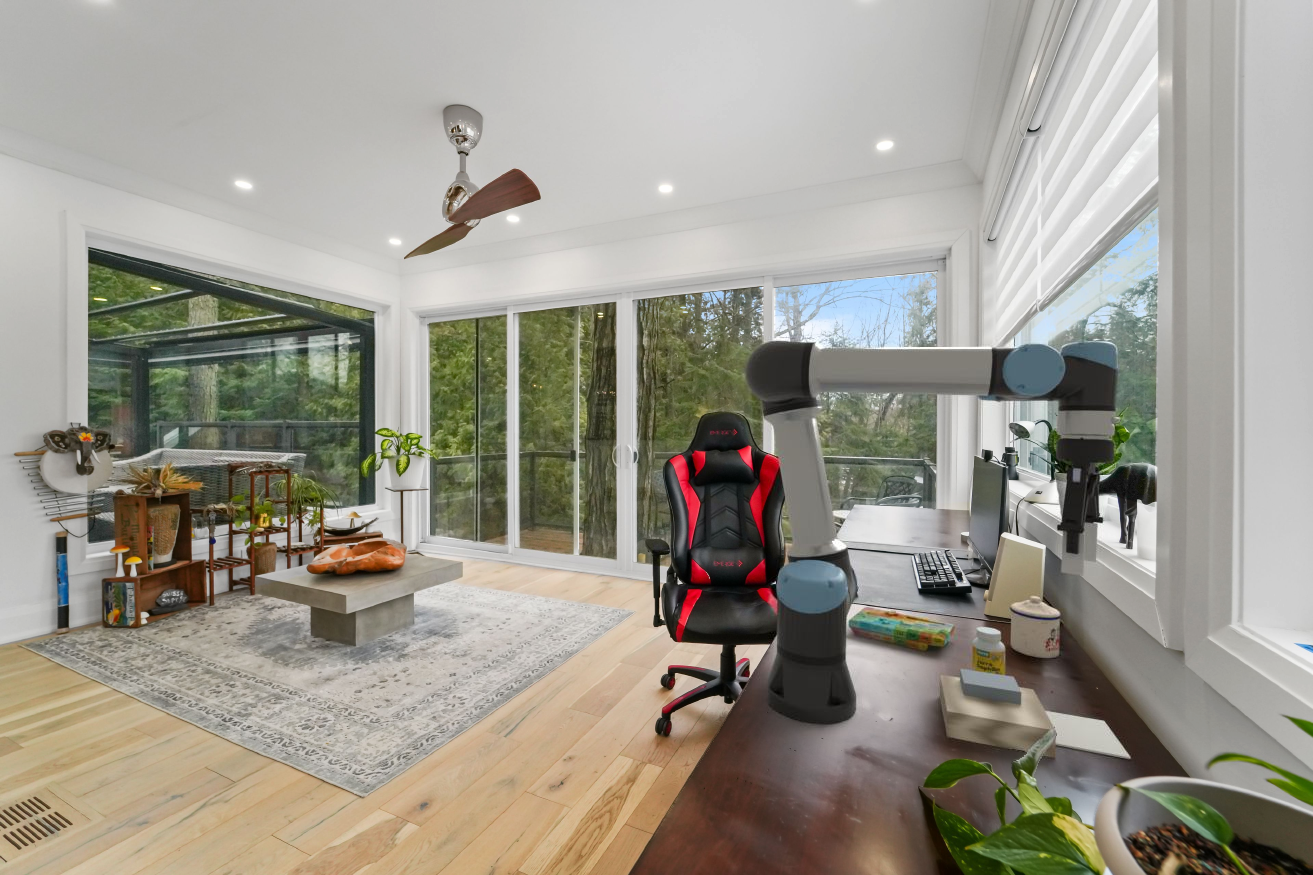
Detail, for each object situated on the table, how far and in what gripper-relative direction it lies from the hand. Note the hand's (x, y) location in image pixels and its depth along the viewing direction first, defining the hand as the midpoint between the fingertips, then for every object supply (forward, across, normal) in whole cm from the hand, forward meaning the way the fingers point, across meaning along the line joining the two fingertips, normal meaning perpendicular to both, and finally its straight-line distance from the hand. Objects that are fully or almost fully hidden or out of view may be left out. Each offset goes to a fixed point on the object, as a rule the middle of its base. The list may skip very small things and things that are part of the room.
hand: (1079, 566), depth 92 cm
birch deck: (+26, -12, +9) cm, 30 cm away
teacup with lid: (+25, +30, +11) cm, 41 cm away
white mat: (+25, -5, -1) cm, 26 cm away
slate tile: (+22, -9, +10) cm, 26 cm away
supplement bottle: (+26, +5, +14) cm, 30 cm away
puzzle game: (+26, +16, +34) cm, 46 cm away
